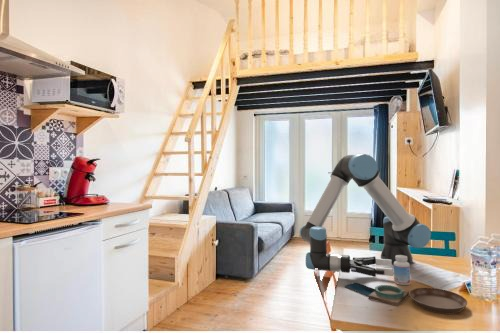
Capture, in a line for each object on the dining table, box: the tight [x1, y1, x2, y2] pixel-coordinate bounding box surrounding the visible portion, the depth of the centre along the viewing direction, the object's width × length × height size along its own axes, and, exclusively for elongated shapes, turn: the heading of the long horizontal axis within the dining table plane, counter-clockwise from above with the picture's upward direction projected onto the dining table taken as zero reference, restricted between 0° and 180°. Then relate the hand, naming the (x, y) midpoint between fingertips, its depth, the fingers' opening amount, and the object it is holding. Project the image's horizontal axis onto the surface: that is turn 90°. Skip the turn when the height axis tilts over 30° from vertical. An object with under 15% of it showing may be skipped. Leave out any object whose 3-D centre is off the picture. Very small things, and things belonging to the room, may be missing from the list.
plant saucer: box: [409, 287, 468, 315], centre depth 113 cm, size 18×18×3 cm
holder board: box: [367, 284, 410, 307], centre depth 121 cm, size 13×10×3 cm
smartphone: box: [344, 282, 375, 298], centre depth 127 cm, size 8×15×1 cm, turn 30°
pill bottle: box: [393, 255, 411, 286], centre depth 135 cm, size 6×6×11 cm
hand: (392, 267), depth 135 cm, fingers open, 13 cm apart
